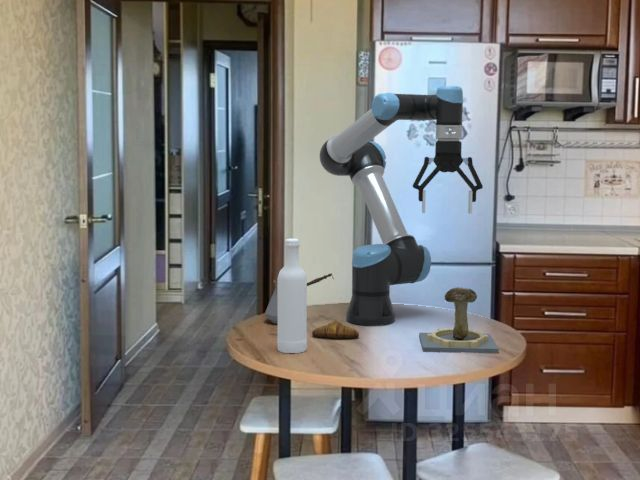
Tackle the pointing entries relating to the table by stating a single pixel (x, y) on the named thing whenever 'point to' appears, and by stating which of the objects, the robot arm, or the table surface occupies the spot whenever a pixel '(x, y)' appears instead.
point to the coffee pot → (272, 306)
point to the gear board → (457, 342)
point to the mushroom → (460, 309)
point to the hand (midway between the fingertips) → (446, 213)
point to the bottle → (292, 302)
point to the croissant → (335, 331)
